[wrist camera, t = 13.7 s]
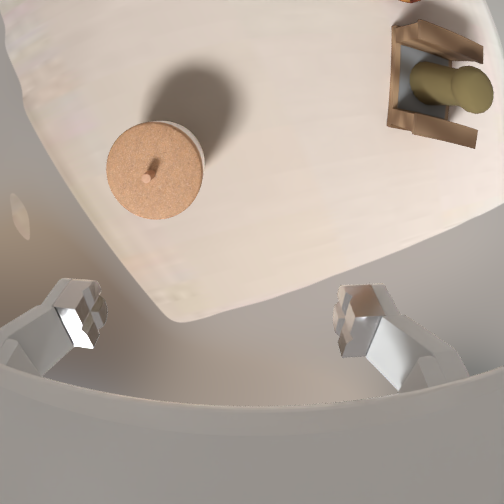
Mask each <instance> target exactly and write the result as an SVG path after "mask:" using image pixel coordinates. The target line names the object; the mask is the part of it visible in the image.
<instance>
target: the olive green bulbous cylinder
mask: <svg viewBox="0 0 504 504" xmlns="http://www.w3.org/2000/svg"><path fill="white" fill-rule="evenodd" d="M410 86H411V90H412V92H413V93H414V95H415V97H416V98H417V99H418V100H419V101H420V102H422V103H424V104H426V105H448V106H460V107H462V108H463V109H464V110H466V111H467V112H471V113H474V114H479V113H484V112H485V111H486V110H488V109H489V108H490V106H491V105H492V101H493V87H492V84H491V82H490V80H489V78H488V77H487V76H486V74H485V73H483V72H482V71H481V70H480V69H478V68H475V67H473V66H463V67H460V68H459V69H455V68H451V67H448V66H444V65H439V64H435V63H431V62H426V61H425V62H419V63H418V64H416V65H415V66H414V67H413V69H412V70H411V73H410Z"/></svg>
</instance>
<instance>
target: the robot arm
mask: <svg viewBox="0 0 504 504" xmlns="http://www.w3.org/2000/svg"><path fill="white" fill-rule="evenodd" d="M100 292H101V288H100V285H99V283H98V282H97V281H95V280H82V279H70V278H62V279H60V280H59V281H58V282H57V284H56V285H55V286H54V288H53V289H52V290H51V292H50V293H49V295H48V296H47V297H46V299H45V300H44V301H43V303H42V304H41V305H37V306H36V307H34V308H32V309H30V310H29V311H27V312H26V313H24V314H22V315H21V316H19V317H17V318H16V319H14V320H13V321H11V322H9V323H8V324H6V325H5V326H3V327H2V328H0V504H504V366H501V367H499V368H496V369H493V370H490V371H487V372H484V373H480V374H477V375H474V376H471V377H470V375H469V374H468V372H467V370H466V368H465V366H464V364H463V362H462V360H461V358H460V356H459V354H458V352H457V350H456V349H454V348H453V347H451V346H450V345H449V344H447V343H445V342H444V341H443V340H441V339H440V338H438V337H437V336H436V335H434V334H433V333H431V332H430V331H428V330H427V329H425V328H424V327H422V326H421V325H419V324H417V323H416V322H415V321H413V320H412V319H410V318H409V317H407V316H406V315H401V314H400V312H399V311H398V309H397V307H396V305H395V303H394V301H393V299H392V297H391V295H390V294H389V292H388V290H387V288H386V286H385V285H384V284H383V283H377V284H368V285H340V287H339V289H338V293H337V296H338V299H339V302H338V303H337V304H336V305H335V306H334V311H333V326H334V331H335V333H336V334H337V335H339V340H338V345H339V349H340V353H341V356H342V358H344V357H362V356H366V358H367V359H368V360H369V361H370V362H371V363H372V364H373V365H374V366H375V367H376V368H377V369H378V370H379V371H380V372H381V374H382V375H383V376H385V378H386V379H387V380H388V381H389V382H390V383H391V384H392V385H393V386H394V387H395V388H396V389H397V390H398V392H397V394H394V395H388V396H382V397H375V398H369V399H361V400H353V401H344V402H335V403H325V404H312V405H294V406H249V407H248V406H215V405H199V404H185V403H175V402H166V401H158V400H149V399H143V398H135V397H129V396H123V395H117V394H112V393H107V392H101V391H96V390H92V389H86V388H82V387H78V386H74V385H70V384H66V383H62V382H58V381H54V380H51V379H47V378H44V377H42V376H43V375H44V374H45V373H46V372H47V371H48V370H49V369H50V368H51V367H53V365H55V364H56V363H57V362H58V361H59V360H60V359H61V358H62V357H63V356H65V355H66V354H67V353H68V352H69V351H70V350H71V349H72V348H73V347H74V346H80V347H88V348H94V346H95V343H96V341H97V339H98V337H99V335H100V334H99V331H98V329H100V328H101V327H103V326H104V324H105V322H106V320H107V313H108V312H107V305H106V302H105V300H104V299H103V298H102V297H101V296H100Z"/></svg>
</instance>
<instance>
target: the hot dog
mask: <svg viewBox="0 0 504 504" xmlns="http://www.w3.org/2000/svg"><path fill="white" fill-rule="evenodd" d="M400 1H403V2H407V3H414V2H417V1H420V0H400Z"/></svg>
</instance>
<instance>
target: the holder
mask: <svg viewBox="0 0 504 504" xmlns="http://www.w3.org/2000/svg"><path fill="white" fill-rule="evenodd" d="M425 61H426V62H431V63H435V64H439V65H444V66H448V67H451V68H452V61H475V62H477V63H480V64H483V46H481V45H480V44H478V43H476V42H474V41H471V40H469V39H467V38H465V37H463V36H461V35H459V34H456V33H454V32H452V31H450V30H447V29H445V28H442V27H440V26H437V25H435V24H432V23H429V22H427V21H424V20H421V19H419V20H418V22H417V23H414V24H410V25H406V26H402V27H401V26H397V25H394V26H392V51H391V78H390V94H389V107H388V118H387V126H388V127H391V128H397V129H403V130H408V131H412V134H414V135H419V136H424V137H428V138H433V139H438V140H442V141H446V142H450V143H454V144H458V145H462V146H466V147H470V148H474V149H475V146H476V140H477V133H478V130H476V129H473V128H470V127H467V126H463V125H460V124H457V123H453V122H450V121H447V120H448V111H449V106H448V105H426V104H424V103H422V102H420V101H419V100H418V99H417V98H416V97H415V95H414V93H413V92H412V90H411V86H410V73H411V70H412V69H413V67H414V66H415V65H416V64H418V63H419V62H425Z"/></svg>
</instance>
